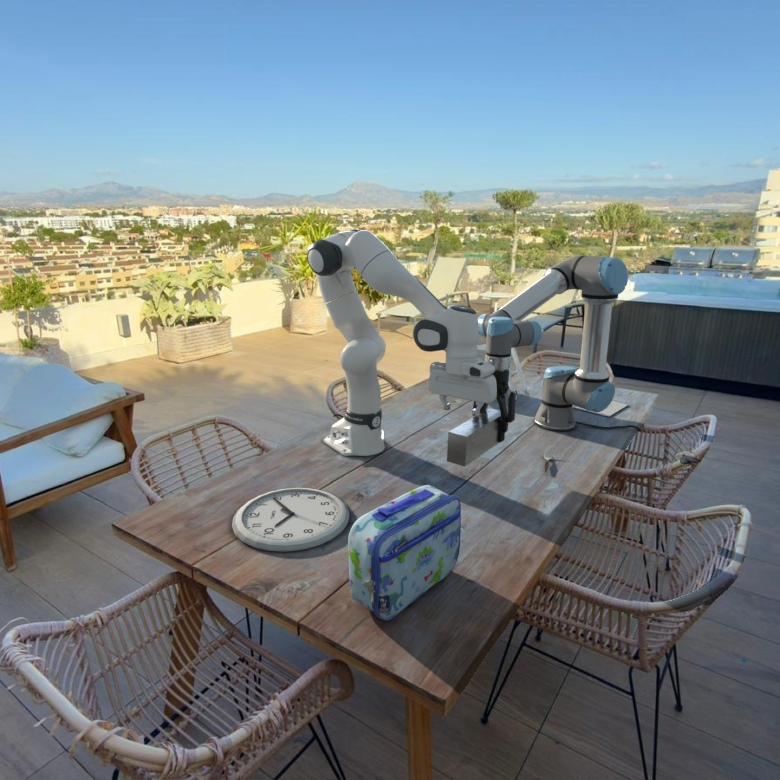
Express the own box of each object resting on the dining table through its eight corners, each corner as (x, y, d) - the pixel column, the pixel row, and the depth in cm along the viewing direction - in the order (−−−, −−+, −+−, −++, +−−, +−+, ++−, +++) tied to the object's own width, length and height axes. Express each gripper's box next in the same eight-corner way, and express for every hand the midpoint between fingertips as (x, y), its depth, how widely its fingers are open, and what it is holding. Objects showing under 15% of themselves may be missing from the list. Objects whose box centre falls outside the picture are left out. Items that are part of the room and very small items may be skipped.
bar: (487, 434, 171) (489, 407, 168) (504, 438, 167) (506, 411, 165) (446, 461, 151) (448, 431, 148) (464, 466, 148) (466, 436, 145)
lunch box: (378, 635, 98) (379, 537, 91) (341, 606, 105) (340, 513, 99) (464, 574, 115) (470, 488, 109) (427, 553, 122) (431, 471, 116)
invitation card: (608, 416, 214) (573, 407, 224) (608, 416, 214) (573, 408, 224) (628, 404, 229) (594, 396, 238) (628, 405, 229) (594, 397, 238)
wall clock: (350, 543, 123) (219, 547, 120) (350, 549, 123) (220, 553, 121) (349, 483, 151) (243, 486, 149) (349, 488, 152) (243, 491, 149)
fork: (540, 473, 163) (541, 467, 163) (544, 453, 178) (545, 448, 177) (549, 474, 162) (550, 468, 162) (552, 454, 177) (553, 449, 176)
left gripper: (423, 362, 148) (424, 409, 152) (489, 372, 136) (487, 422, 140) (435, 358, 152) (435, 403, 156) (500, 367, 140) (498, 416, 144)
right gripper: (463, 365, 162) (459, 434, 169) (521, 376, 151) (514, 449, 158) (475, 361, 168) (470, 428, 175) (531, 371, 157) (524, 442, 164)
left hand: (460, 412), depth 148 cm, fingers open, 8 cm apart
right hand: (491, 438), depth 166 cm, fingers closed on bar, 6 cm apart
